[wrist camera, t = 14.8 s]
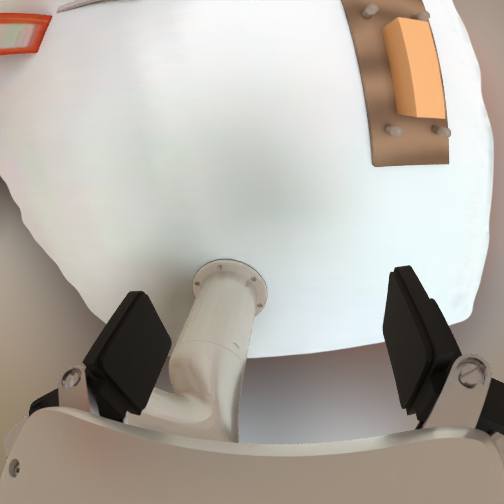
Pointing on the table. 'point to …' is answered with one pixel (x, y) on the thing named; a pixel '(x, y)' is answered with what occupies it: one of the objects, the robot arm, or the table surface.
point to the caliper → (75, 4)
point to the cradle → (392, 89)
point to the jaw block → (414, 68)
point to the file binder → (22, 32)
